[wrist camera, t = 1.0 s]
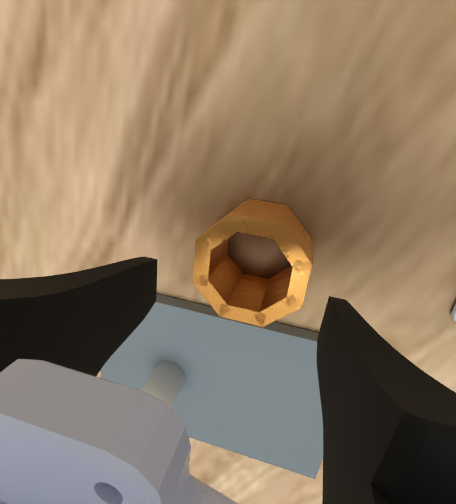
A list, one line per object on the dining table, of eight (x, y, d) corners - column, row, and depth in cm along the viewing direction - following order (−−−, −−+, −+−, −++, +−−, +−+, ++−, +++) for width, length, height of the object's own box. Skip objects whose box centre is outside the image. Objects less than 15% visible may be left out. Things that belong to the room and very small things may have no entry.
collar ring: (318, 209, 16) (321, 228, 13) (297, 297, 18) (295, 335, 15) (220, 193, 17) (197, 207, 14) (211, 278, 20) (190, 309, 16)
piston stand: (357, 342, 18) (378, 425, 13) (314, 465, 23) (317, 566, 18) (104, 281, 22) (37, 327, 16) (110, 399, 26) (59, 466, 21)
